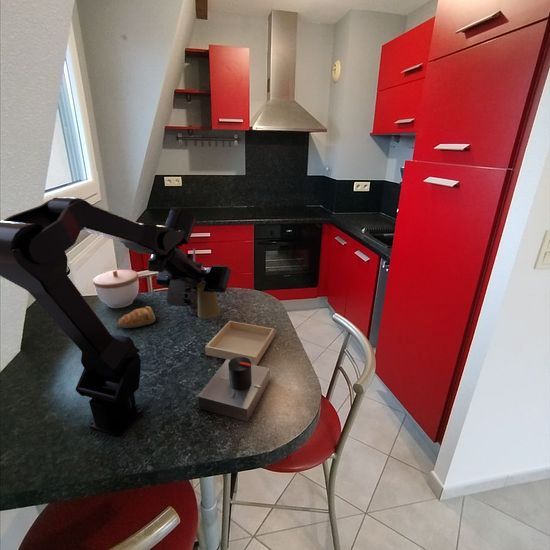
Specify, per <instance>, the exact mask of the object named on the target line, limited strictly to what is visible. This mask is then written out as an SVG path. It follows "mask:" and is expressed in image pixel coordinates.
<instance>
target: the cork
mask: <svg viewBox="0 0 550 550" xmlns="http://www.w3.org/2000/svg"><path fill="white" fill-rule="evenodd" d="M206 274H207V273H206ZM205 283H206V282H204V280H202V283H201V284H198V285H197V291H198V315H197V318H199V319H202V320H209V319H214V318H217V317H218V316H219V315H221V309H220V304H219V301H218V298H217V293H216V292H206V291H203V290H204V287H205Z"/></svg>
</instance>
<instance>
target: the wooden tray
mask: <svg viewBox="0 0 550 550" xmlns="http://www.w3.org/2000/svg"><path fill="white" fill-rule="evenodd" d="M275 336H276V335H275V328H272V327H268V326H261V325H257V324H250V323H244V322H239V321H234V320H229V321H228V322H227V323H226V324H225V325H224V326H223V327H222V328H221V329H220V330H219V331H218V332H217V333H216V334H215V336H213V337H212V339H210V341H209V342H208V343H207V344H206V345H205V346H204V347H205V349H204V350H205V355H206V356H209V357H214V358H220V359H223V360H227V359H228V360H231V359H233V358H236V357H246V358H248V359H249V360H250V361H251V365H256V366H258V364H259V363H260V360H261V359H262V357H263V356H264V354H265V352H266V351H267V349H268V347H269V346H270V345H271V343H272V341H273V340H274V338H275Z"/></svg>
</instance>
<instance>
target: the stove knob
mask: <svg viewBox="0 0 550 550" xmlns="http://www.w3.org/2000/svg"><path fill="white" fill-rule="evenodd" d="M228 369H229V384H230V386H231V387H232V388H233V389H235V390H244V389H247V388H248V387H249V386H250V385H251V383H252V372H251V361H250V360H249V359H248V358H246V357H236V358H233V359H231V360H230V361H229V363H228Z"/></svg>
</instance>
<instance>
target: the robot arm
mask: <svg viewBox="0 0 550 550" xmlns="http://www.w3.org/2000/svg"><path fill="white" fill-rule="evenodd" d="M196 222H197V219H196V217H195V216H194V215H192V214H190V213H189V212H186V211H184V210H181V208H180V207H171V208H170V211H169V214H168V216H167V219H166V222H165V224H164V225H159V224H151V223H142V222H137V221H135V220H132V219H130V218H127V217H124V216H122V215H119V214H117V213H114V212H112V211H109V210H107V209H104V208H102V207H99V206H96V205H94V204H91V203H90V202H88V201H86V200H85V199H83V198H79V197H66V196H65V197H64V196H55V197H53V198H52V199H49V200H47V201H46V202H43V203H42V204H40V205H38V206H35V207H32V208H29V209H26V210H24V211H20V212H18V213H15V214H12V215H10V216H8V217H6V218H5V219H3V220H0V277H1V278H3V279H5V280H7V281H9V282H10V283H13V284H14V285H16V286H18V287H20V288H22V289H24V290H25V291H27V292H28V293H29V294H30V295H31V296H32V298H33V299H34V300H35V301H36V302H37V303H38V304H39V305H40V306H41V308H42V309H43V310H44V311H45V312H46V313H47V314H48V315H49V316H50V318H51V319H52V320H53V321H54V322H55V323H56V324H57V326H58V327H59V328H60V329H61V330H62V331H63V332H64V333H65V335H66V336H67V337H69V339H70V340H71V341H72V343H74V345H76V347H77V348H78V349H79V350H80V352H81V356H80V363H81V365H82V367H83V370H82V372H81V375H80V377H79V379H78V382H77V384H76V386H75V391H76V393H78V394H79V396H81V397H88V398H91V399H90V400H89V401H88V403H89V407H90V410H91V415H92V418H93V419H92V420H91V422H90V423H88V427H89V428H90V429H92V430H94V431H95V430H96V431H99V432H102V433H104V434H108V435H110V436H113V437H119V436H120V435H121V434H122V433H123V432H124V431H125V430H126V429H127V428H128V427H129V426H130V424H132V423H133V421H134V420H135V419H136V418H137V417H138V416H139V415H140V414H141V413H142V412H143V407H141V406H137V405H136V404H137V402H136V398H135V397H136V396H135V393H136V392H137V391H138V390H139V388H140V378H141V370H142V369H141V367H142V363H141V362H142V360H141V359H142V358H141V356H140V354H139V353H140V351H141V349H140V348H138V347H137V346H136V345H135V343H134V340H133V339H132V338H131V336H127V335H122V334H116V333H111V332H110V331H109V330H108V328H107V327H106V326H105V324H104V323H103V322H102V320H101V319H100V317H99V316H98V315H97V314H96V312H95V311H94V310H93V308H92V307H91V306H90V304H89V303H88V302H87V300H86V299H85V296H83V295H82V293H81V291H79V289H78V288H77V287H76V285H75V284H74V282H73V281H72V280H71V278H70V276H69V275H68V255H67V254H66V251H67V250H69V249H70V248H71V247H72V246H74V245H75V244H76V242H77V240H78V238H79V235H80V234H81V231H82V232H86V233H89V234H93V235H97V236H100V237H103V238H107V239H111V240H114V241H117V242H120V243H122V244H123V245H124V247H125V248H127V250H128V249H129V250H130V251H132V252H133V253H136V254H143V255H150V258H149V259H148V260H147V263H148V264H147V271H148V272H154V273H157V275H156V278H155V282H156V285H157V286H159V287H161V288H165V289H167V294H166V304H167V305H168V306H176V307H188V306H192V303H196V302H197V296H198V291H197V285H198V284H201V283H202V280H204V282H206V283H205V287H204V290H203V291H206V292H215V293H219V294H220V293H222V294H224V293H225V292H226V291H227V289H228V285H229V282H230V278H231V275H232V270H231V268H230V267H229V266H228V265H227V264H226V265H225V264H213V265H211V267H207V268H206V269H205V270H201V267H202V266H203V263H202V262H201V261H195V262H194V261H193V257H194V256H193V253H186V252H185V251H184V250H183V249H181V248H180V247H182V246H183V245H188V244H189V242H190V240H191V236H192V234H193V231H194V229H195V226H196ZM206 273H207V274H206Z"/></svg>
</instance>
